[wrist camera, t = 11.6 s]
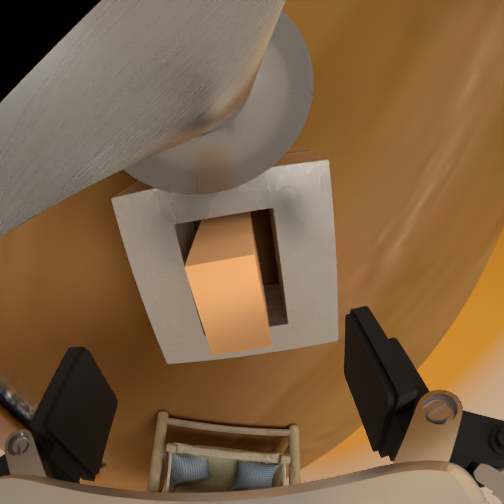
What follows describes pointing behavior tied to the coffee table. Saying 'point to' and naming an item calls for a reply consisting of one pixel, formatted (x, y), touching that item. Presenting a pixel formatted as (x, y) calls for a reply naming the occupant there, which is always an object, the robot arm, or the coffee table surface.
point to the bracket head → (173, 144)
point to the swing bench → (219, 461)
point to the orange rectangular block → (229, 284)
